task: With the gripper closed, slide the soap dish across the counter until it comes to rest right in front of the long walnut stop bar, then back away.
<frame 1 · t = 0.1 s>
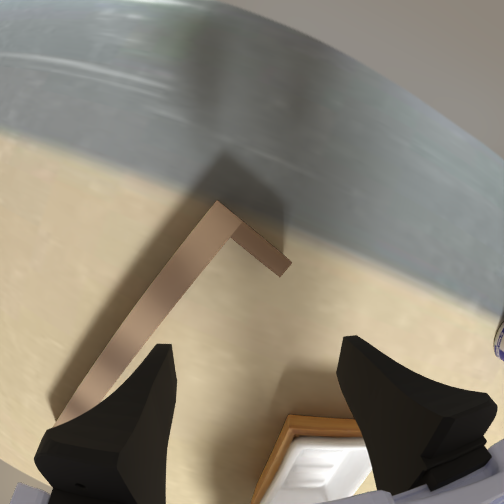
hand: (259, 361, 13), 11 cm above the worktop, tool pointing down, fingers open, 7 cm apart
soap dish: (307, 451, 27), on the worktop
walnut stop: (123, 344, 23), on the worktop
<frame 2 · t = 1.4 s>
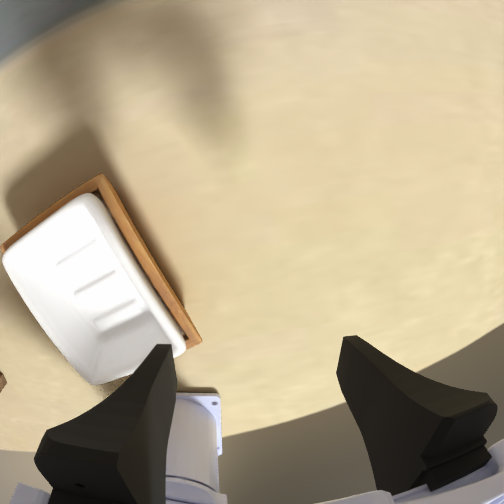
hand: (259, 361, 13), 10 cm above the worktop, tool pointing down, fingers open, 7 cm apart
soap dish: (109, 273, 22), on the worktop
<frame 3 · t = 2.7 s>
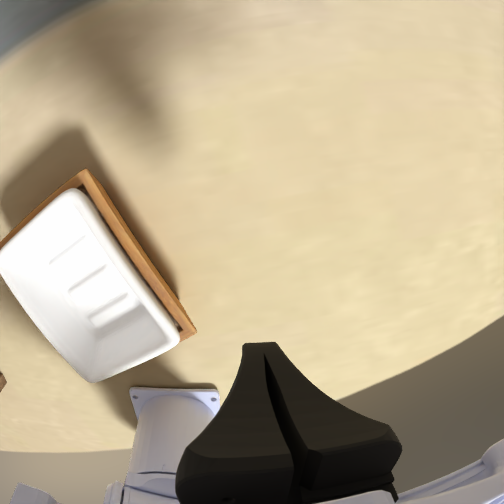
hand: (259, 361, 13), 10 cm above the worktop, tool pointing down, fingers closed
soap dish: (102, 269, 22), on the worktop
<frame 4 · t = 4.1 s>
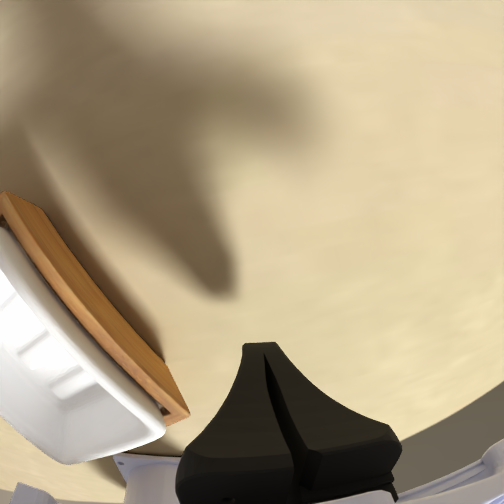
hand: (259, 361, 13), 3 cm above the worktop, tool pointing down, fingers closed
soap dish: (60, 321, 15), on the worktop
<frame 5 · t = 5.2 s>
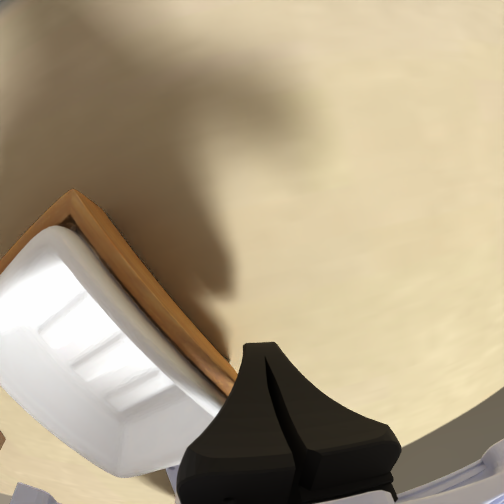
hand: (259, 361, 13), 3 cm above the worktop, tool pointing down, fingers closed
soap dish: (115, 329, 15), on the worktop, touching gripper
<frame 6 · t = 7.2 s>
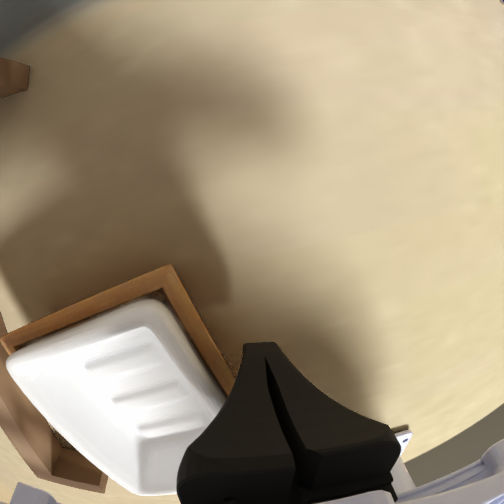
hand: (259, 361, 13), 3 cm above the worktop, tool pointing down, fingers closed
soap dish: (155, 366, 16), on the worktop
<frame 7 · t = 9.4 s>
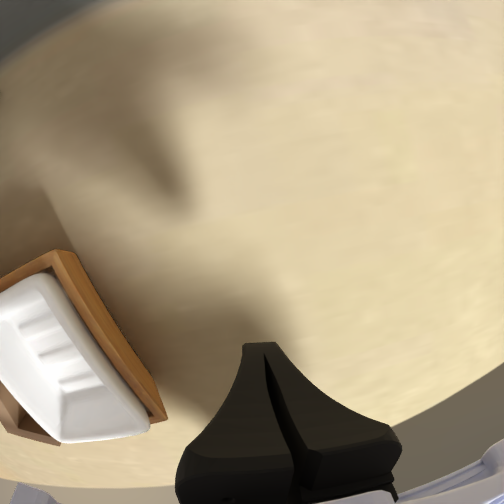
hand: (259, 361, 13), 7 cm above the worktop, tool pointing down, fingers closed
soap dish: (74, 333, 19), on the worktop
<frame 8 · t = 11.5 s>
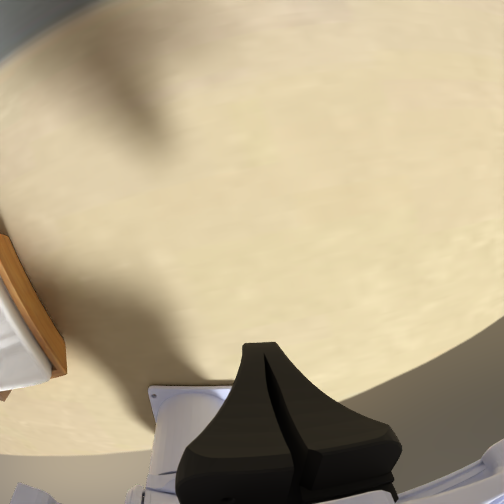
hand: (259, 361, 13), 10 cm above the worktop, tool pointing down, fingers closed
soap dish: (10, 302, 22), on the worktop
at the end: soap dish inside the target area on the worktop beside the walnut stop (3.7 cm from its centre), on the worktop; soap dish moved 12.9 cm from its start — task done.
